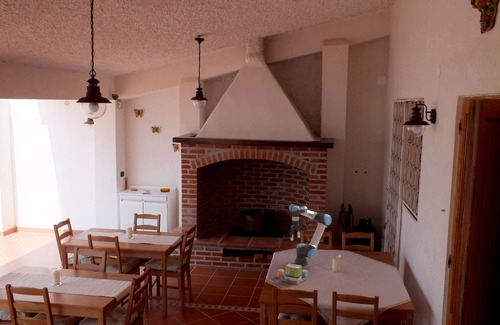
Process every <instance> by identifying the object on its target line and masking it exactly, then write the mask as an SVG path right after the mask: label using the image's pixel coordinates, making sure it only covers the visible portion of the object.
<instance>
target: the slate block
mask: <svg viewBox="0 0 500 325" xmlns="http://www.w3.org/2000/svg"><path fill="white" fill-rule="evenodd" d="M307 277H309V270H308V269H303V268H302V278H307Z"/></svg>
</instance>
